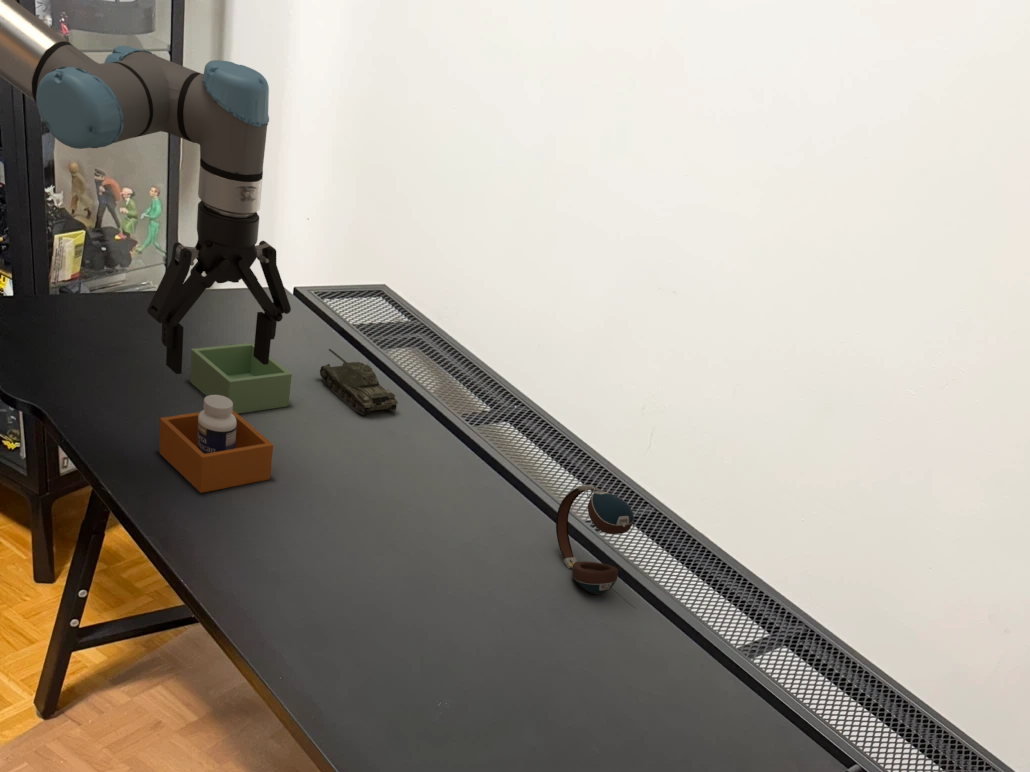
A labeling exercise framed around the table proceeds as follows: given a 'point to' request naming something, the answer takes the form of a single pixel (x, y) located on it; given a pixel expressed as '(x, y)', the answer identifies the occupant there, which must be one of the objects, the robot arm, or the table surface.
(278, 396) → the green bin
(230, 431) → the pill bottle
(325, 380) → the toy tank
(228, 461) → the amber bin
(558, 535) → the headphones
